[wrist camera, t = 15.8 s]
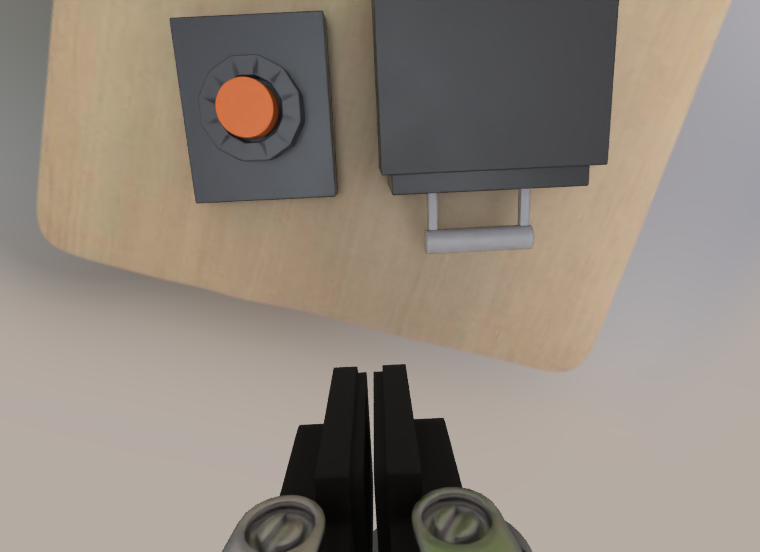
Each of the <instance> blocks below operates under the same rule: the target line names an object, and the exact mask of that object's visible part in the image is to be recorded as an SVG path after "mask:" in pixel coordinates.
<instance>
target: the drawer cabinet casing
mask: <svg viewBox="0 0 760 552" xmlns="http://www.w3.org/2000/svg"><path fill="white" fill-rule="evenodd" d="M371 1H372V22H373V44H374V65H375V87H376V108H377V129H378V151H379V169H380V172H381V175H403V174H423V173H444V172H464V171H484V170H505V169H525V168H545V167H566V166H586V165H606V164H607V162H608V148H609V134H610V120H611V105H612V91H613V77H614V62H615V48H616V34H617V19H618V5H619V0H371Z"/></svg>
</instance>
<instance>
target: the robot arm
mask: <svg viewBox="0 0 760 552" xmlns="http://www.w3.org/2000/svg"><path fill="white" fill-rule="evenodd" d="M374 486H375V504H376V521H377V538H378V552H525V551H524V550H522V549H521V548H520V547H519V545H518V543H517V541H516V540H515V538H514V536H513V534H512V532H511V531H510V529H509V527H508V525H507V524H506V522H505V520H504V518H503V517H502V515H501V513H500V511H499V510H498V508H497V507H496V506H495V505H494V503H493V502H492V501H491V500H489V499H488V498H487V497H485V496H484V495H482V494H481V493H478V492H475V491H473V490H470V489H466V488H462V485H461V481H460V477H459V473H458V470H457V466H456V462H455V458H454V455H453V451H452V447H451V443H450V439H449V436H448V432H447V428H446V424H445V421H444V418H432V419H414V418H413V411H412V405H411V398H410V391H409V385H408V379H407V371H406V365H405V364H401V365H383V372H374ZM222 552H373V472H372V455H371V439H370V422H369V405H368V388H367V374H366V372H363V373H358V369H357V367H339V368H334V370H333V375H332V381H331V386H330V392H329V398H328V403H327V409H326V415H325V420H324V424H312V425H300V426H299V427H298V430H297V434H296V437H295V441H294V445H293V449H292V453H291V456H290V460H289V464H288V467H287V471H286V475H285V479H284V482H283V486H282V490H281V493H280V496H278V497H274V498H270V499H268V500H265V501H263V502H261V503H259V504H257V505H255V506H254V507H253V508H252V509H250V510H249V511H248V512H246V513H245V515H244V516H243V517H242V519H241V520H240V521H239V522H238V524H237V526H236V528H235V529H234V531H233V533H232V535H231V536H230V538H229V540H228V542H227V544H226V545H225V547H224V549H223V551H222Z"/></svg>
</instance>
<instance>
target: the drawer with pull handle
mask: <svg viewBox="0 0 760 552" xmlns="http://www.w3.org/2000/svg"><path fill="white" fill-rule="evenodd" d="M589 166H590V165H586V166H566V167H545V168H525V169H505V170H484V171H464V172H444V173H423V174H403V175H388V185H389V187H390V190H391V192H392V194H393V195H407V194H427V207H428V229H429V230H425V251H426V254H434V253H454V252H474V251H494V250H515V249H531V248H532V247H533V243H534V232H533V228H532V226H531V225H529V211H530V188H550V187H570V186H588V183H589ZM509 189H519V195H518V225H513V226H493V227H473V228H452V229H438V209H437V193H448V192H468V191H489V190H509Z"/></svg>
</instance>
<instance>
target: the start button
mask: <svg viewBox="0 0 760 552" xmlns="http://www.w3.org/2000/svg"><path fill="white" fill-rule="evenodd" d="M215 107H216V113H217V117H218V119H219V121H220V123H221V124H222V125H223V127H224V128H225V129H226V130H227V131H229V132H230V133H232V134H233V135H236V136H238V137H243V138H259V137H262V136H265V135H266V134H268V133H269V132H270V131H271V130H272V129H273V128H274V126H275V125H276V122H277V120H278V115H279V107H278V102H277V100H276V97H275V95H274V94H273V92H272V91H271V90H270V89H269V88H268V87H267V86H266V85H264V84H262V83H261V82H259V81H257V80H255V79H253V78H250V77H245V76H240V77H235V78H232V79H230V80H228V81H227V82H226V83H224V84H223V85H222V87H221V88H220V90H219V91H218V94H217V97H216V102H215Z"/></svg>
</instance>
